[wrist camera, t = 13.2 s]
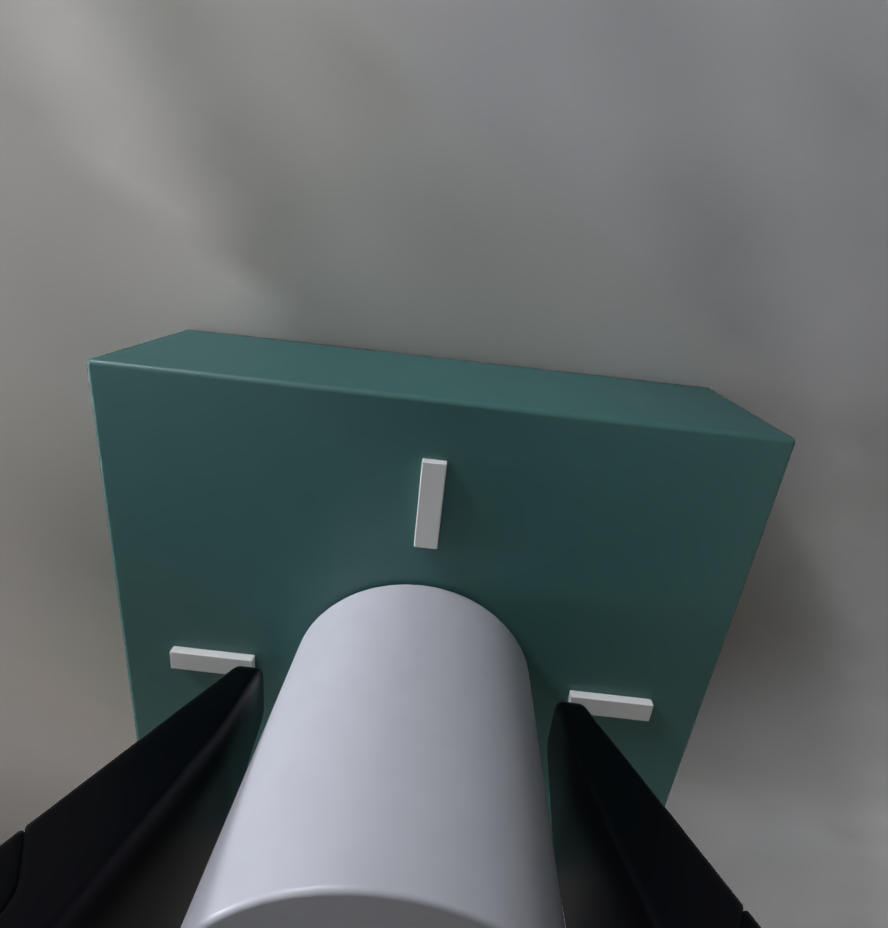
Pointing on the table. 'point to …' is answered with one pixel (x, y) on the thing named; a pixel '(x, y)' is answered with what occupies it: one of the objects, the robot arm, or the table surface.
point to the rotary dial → (429, 518)
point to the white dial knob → (392, 780)
